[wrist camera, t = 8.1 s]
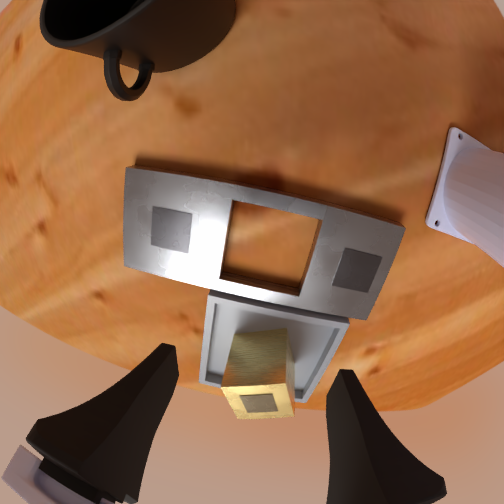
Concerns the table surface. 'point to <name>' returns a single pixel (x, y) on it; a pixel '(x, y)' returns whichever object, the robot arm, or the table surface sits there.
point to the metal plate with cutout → (216, 235)
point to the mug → (137, 34)
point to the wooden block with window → (260, 375)
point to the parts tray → (268, 318)
